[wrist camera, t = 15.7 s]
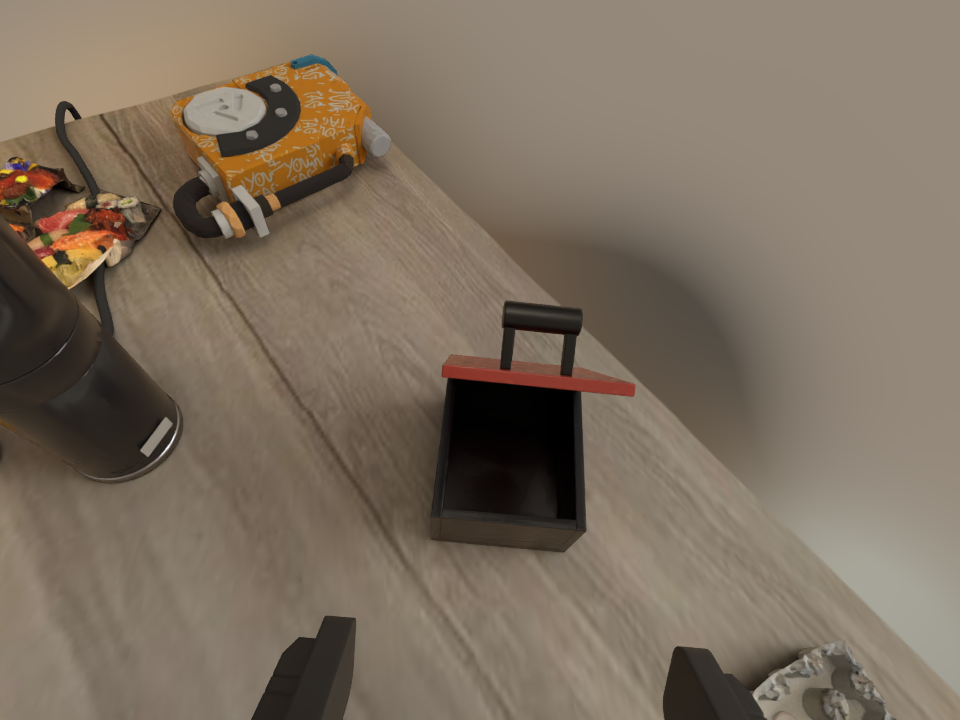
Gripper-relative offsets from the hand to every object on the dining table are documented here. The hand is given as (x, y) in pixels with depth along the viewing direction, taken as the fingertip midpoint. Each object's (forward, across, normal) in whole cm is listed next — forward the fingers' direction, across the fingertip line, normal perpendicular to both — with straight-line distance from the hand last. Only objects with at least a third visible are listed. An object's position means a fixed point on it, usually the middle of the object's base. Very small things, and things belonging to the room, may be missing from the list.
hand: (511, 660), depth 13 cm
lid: (+27, -3, -1) cm, 27 cm away
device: (+63, +29, -16) cm, 71 cm away
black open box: (+35, -3, +11) cm, 37 cm away
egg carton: (+23, -28, +24) cm, 43 cm away
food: (+51, +52, -5) cm, 73 cm away
